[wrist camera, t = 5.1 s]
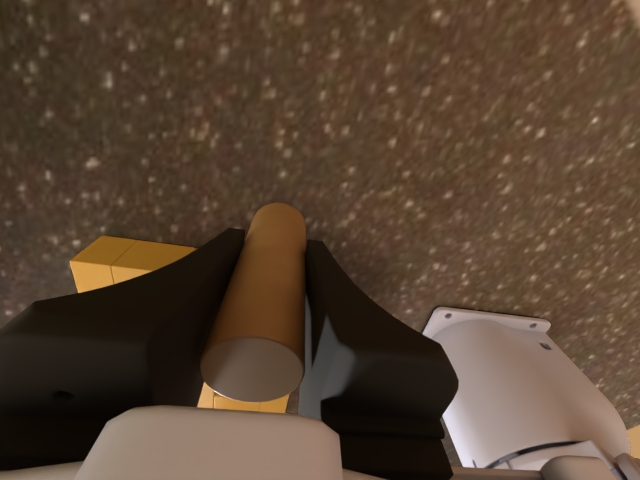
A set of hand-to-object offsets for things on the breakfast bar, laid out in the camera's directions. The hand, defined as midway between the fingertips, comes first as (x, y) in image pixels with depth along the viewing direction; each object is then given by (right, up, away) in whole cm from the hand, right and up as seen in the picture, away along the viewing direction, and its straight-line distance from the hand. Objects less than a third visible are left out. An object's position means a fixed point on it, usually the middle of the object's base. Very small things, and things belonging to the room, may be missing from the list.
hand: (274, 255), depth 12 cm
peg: (0, +1, +2) cm, 3 cm away
